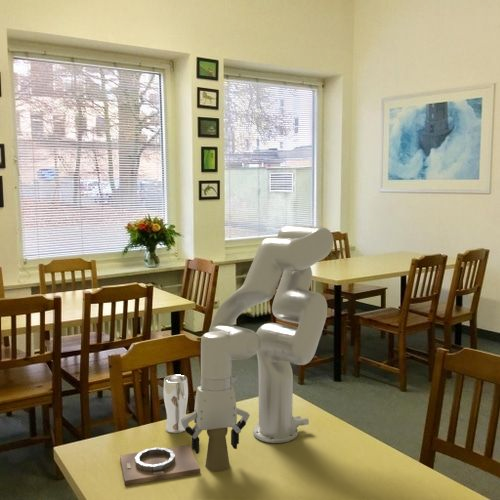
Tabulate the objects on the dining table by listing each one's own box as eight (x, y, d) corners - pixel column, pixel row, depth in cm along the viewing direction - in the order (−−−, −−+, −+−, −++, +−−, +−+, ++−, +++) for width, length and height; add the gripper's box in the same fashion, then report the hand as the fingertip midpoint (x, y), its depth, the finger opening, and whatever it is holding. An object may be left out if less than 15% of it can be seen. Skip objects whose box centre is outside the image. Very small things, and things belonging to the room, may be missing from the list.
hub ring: (171, 450, 144) (170, 445, 144) (177, 468, 135) (177, 462, 135) (133, 456, 141) (133, 450, 141) (137, 475, 132) (137, 469, 132)
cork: (226, 472, 135) (225, 429, 134) (202, 470, 137) (201, 427, 135) (232, 460, 141) (231, 419, 140) (209, 458, 143) (208, 417, 141)
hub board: (189, 449, 147) (189, 444, 147) (200, 473, 135) (200, 467, 135) (120, 459, 142) (120, 454, 142) (125, 485, 130) (124, 480, 130)
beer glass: (193, 426, 162) (192, 376, 160) (180, 435, 155) (179, 384, 154) (172, 421, 164) (171, 373, 163) (159, 431, 158) (158, 380, 156)
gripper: (244, 374, 143) (244, 438, 144) (178, 380, 137) (178, 447, 139) (254, 384, 135) (253, 451, 137) (184, 390, 130) (184, 460, 132)
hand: (215, 449), depth 138 cm, fingers open, 9 cm apart
